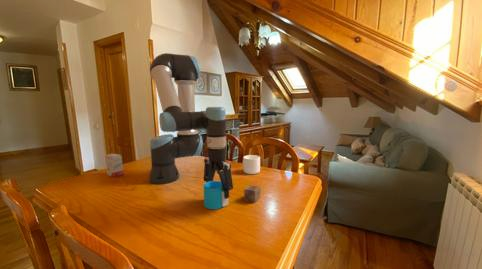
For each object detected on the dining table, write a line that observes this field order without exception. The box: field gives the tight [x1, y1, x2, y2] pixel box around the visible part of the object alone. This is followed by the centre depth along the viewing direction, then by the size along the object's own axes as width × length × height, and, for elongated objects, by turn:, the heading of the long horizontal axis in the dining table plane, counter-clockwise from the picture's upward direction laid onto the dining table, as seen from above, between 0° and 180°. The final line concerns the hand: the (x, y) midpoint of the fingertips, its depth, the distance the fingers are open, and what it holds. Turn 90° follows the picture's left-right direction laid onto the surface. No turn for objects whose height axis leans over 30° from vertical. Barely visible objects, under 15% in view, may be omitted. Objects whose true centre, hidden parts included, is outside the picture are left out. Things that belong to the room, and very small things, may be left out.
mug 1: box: [203, 180, 223, 210], centre depth 84 cm, size 12×8×8 cm
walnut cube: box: [243, 184, 261, 204], centre depth 87 cm, size 5×5×5 cm
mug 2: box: [242, 154, 261, 175], centre depth 122 cm, size 12×10×9 cm
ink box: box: [104, 153, 124, 178], centre depth 117 cm, size 9×5×12 cm, turn 58°
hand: (218, 201), depth 84 cm, fingers closed on mug 1, 8 cm apart
